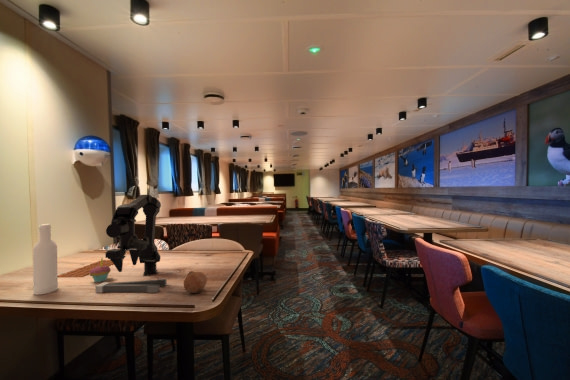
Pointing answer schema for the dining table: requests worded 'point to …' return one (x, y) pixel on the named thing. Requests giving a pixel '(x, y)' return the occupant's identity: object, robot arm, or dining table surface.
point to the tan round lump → (195, 282)
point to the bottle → (45, 262)
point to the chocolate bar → (85, 269)
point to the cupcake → (100, 272)
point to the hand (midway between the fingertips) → (127, 268)
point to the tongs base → (127, 288)
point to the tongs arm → (145, 282)
